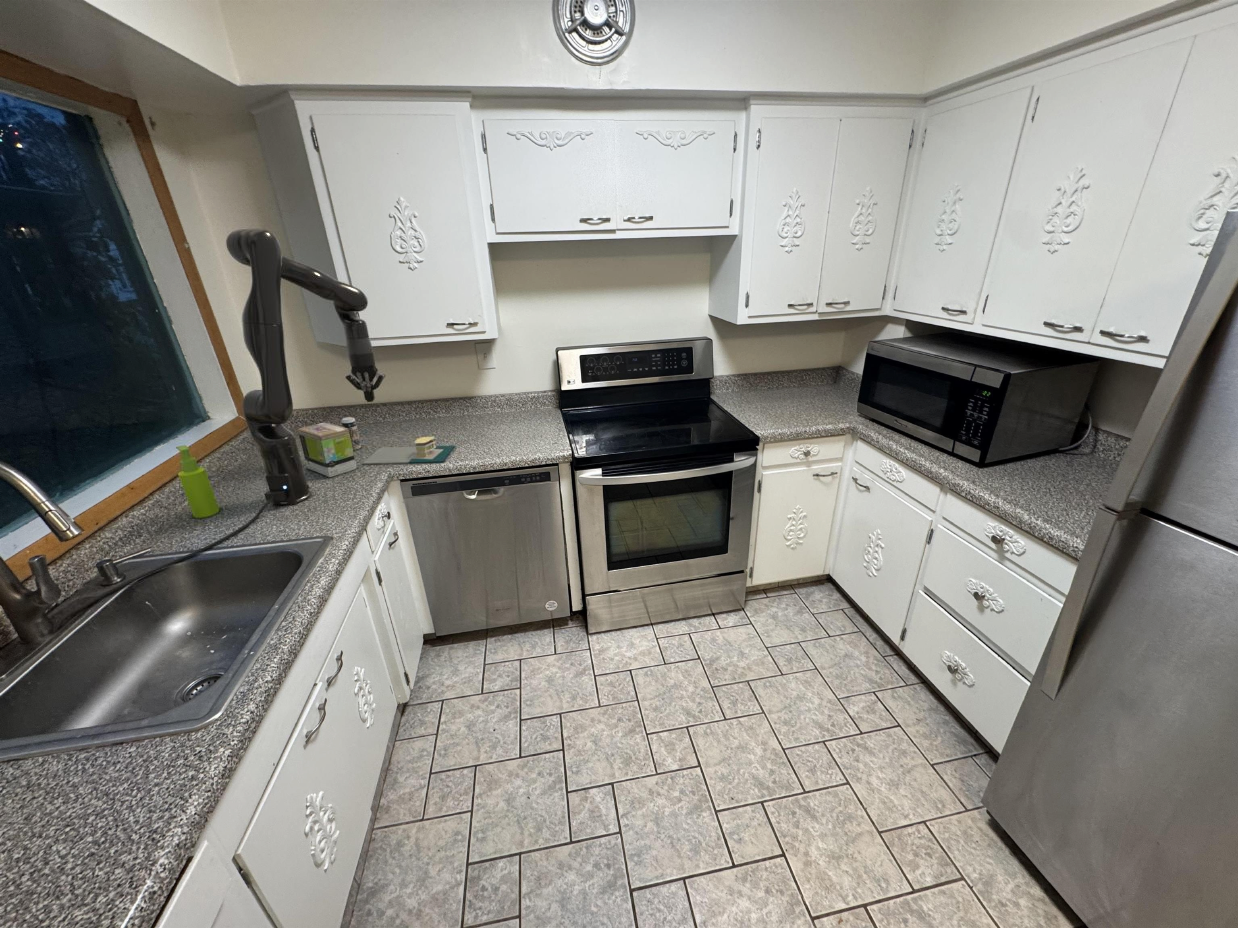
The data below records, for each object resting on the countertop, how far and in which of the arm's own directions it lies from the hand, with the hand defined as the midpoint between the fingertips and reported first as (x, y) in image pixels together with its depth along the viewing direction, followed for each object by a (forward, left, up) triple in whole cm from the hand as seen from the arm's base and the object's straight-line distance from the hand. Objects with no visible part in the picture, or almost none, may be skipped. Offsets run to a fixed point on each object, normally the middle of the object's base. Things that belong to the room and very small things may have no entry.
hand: (370, 401), depth 176 cm
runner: (+1, -10, -21) cm, 23 cm away
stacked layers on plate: (+1, -16, -21) cm, 26 cm away
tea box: (-10, +13, -21) cm, 27 cm away
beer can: (+10, +14, -21) cm, 27 cm away
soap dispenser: (-41, +34, -21) cm, 57 cm away
